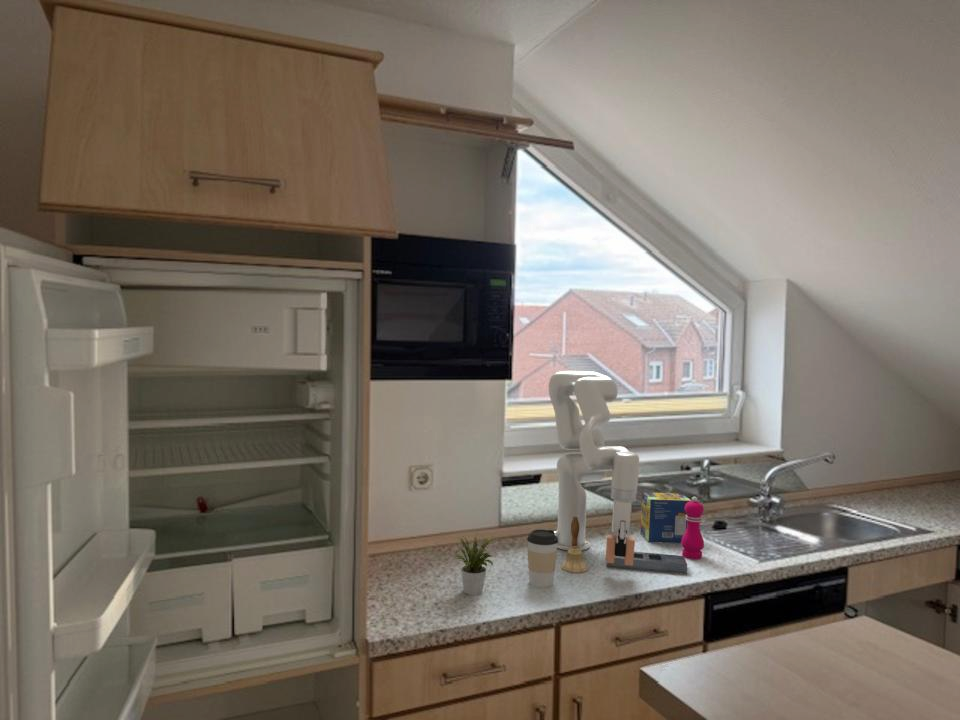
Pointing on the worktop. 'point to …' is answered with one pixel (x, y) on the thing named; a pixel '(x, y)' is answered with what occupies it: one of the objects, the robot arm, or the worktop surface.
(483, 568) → the house plant
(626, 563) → the peach arch block
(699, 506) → the pepper mill
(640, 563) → the rail
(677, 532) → the protein box
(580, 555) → the hand bell
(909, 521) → the worktop surface
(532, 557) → the coffee cup
